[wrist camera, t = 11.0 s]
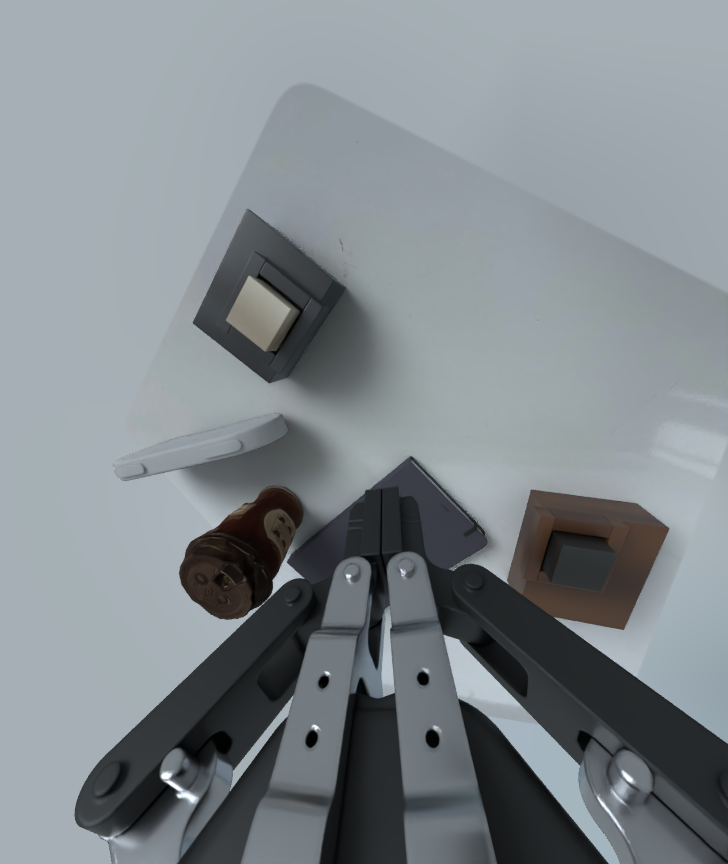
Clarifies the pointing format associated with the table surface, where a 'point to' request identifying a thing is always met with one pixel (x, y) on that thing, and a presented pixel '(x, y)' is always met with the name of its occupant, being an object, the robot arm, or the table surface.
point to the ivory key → (262, 314)
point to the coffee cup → (242, 555)
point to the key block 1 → (284, 272)
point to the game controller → (202, 447)
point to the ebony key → (578, 560)
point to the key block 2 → (611, 520)
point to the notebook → (440, 517)
